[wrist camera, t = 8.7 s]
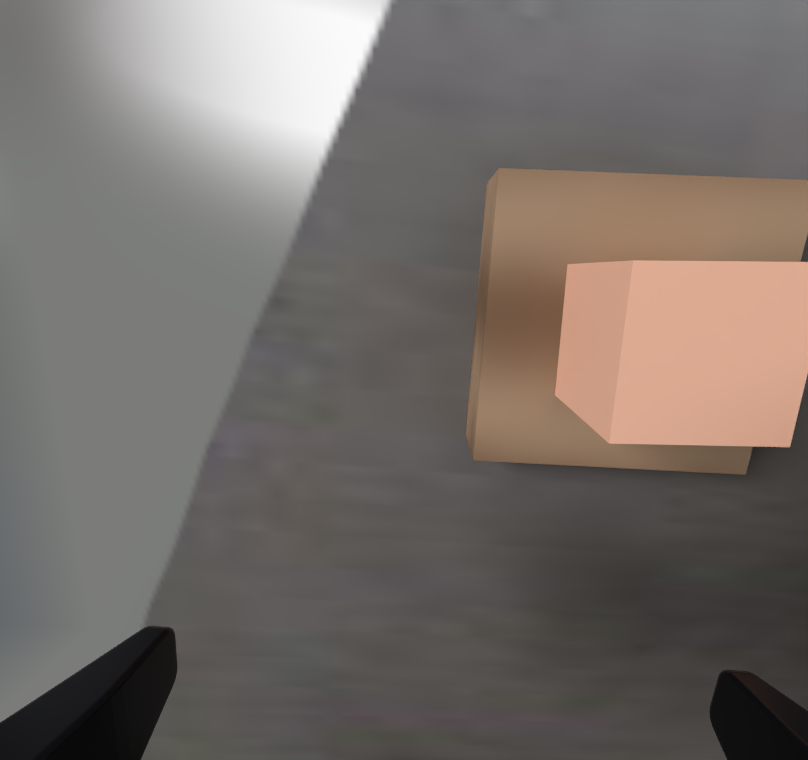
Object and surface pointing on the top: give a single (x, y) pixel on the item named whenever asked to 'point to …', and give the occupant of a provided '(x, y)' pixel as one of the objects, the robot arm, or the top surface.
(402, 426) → the top surface
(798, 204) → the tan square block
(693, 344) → the salmon pink cube
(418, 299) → the top surface
